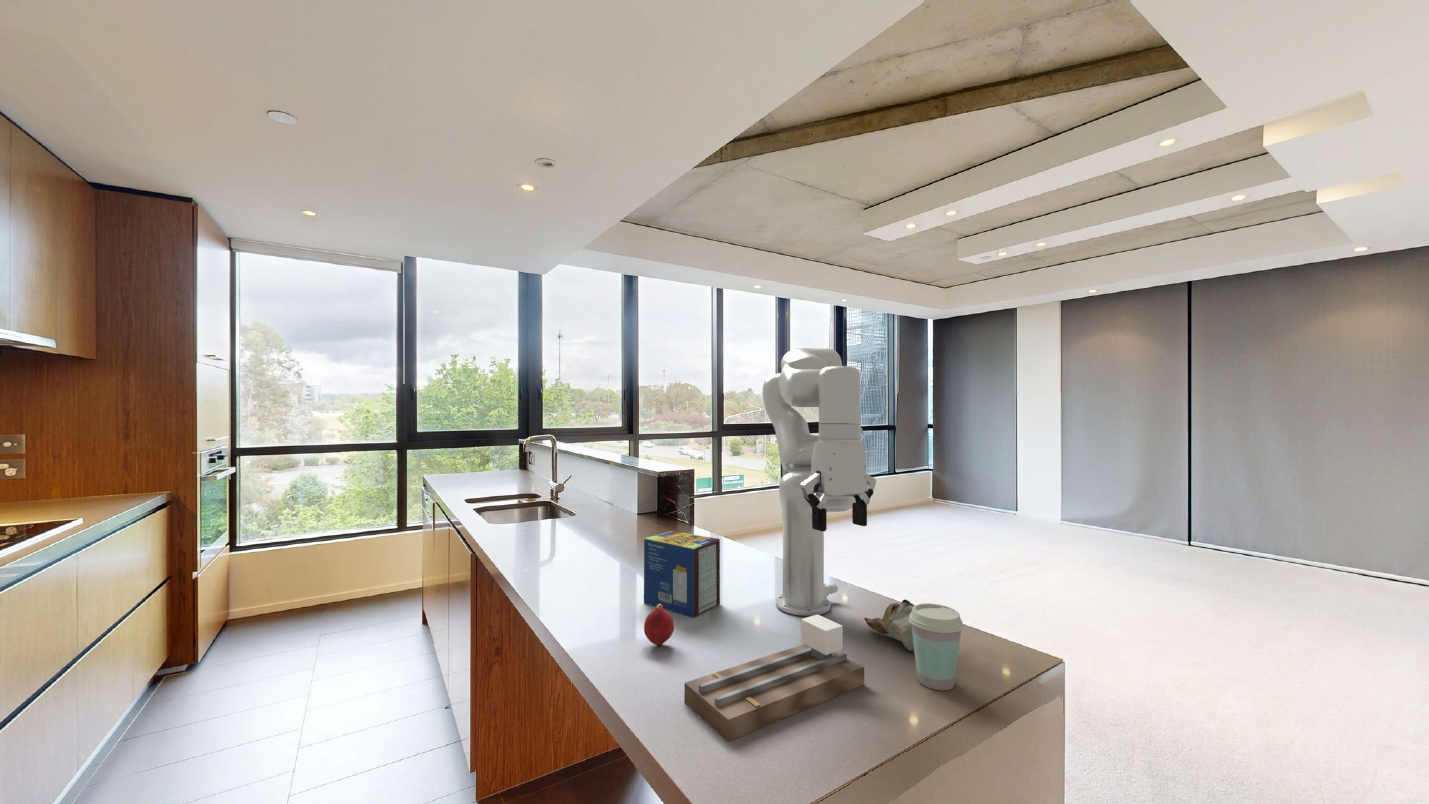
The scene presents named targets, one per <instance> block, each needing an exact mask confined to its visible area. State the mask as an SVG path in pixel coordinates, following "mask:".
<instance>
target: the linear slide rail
mask: <svg viewBox="0 0 1429 804" xmlns="http://www.w3.org/2000/svg"><path fill="white" fill-rule="evenodd" d="M864 685H865V666H863V665H862V664H860V663H858V662H856V661H854V660H852V659H850V658H848V653H846V652H844V651H842V652H837V651H836V652H833V653H832V656H831V657H828V658H825V659H822V660H819V659H817V658H815V657H813V656H812V655H811V647H810V646H808V645H806V644H804V643H802V644H800V645H797V646H794V647H791V648H788V649H784V650H781V651H778V652H775V653H772V654H769V655H765V656H763V657H760V658H757V659H753V660H751V661H747V662H745V663H741V664H738V665H735V666H732V667H728V668H726V669H725V668H724V669H723V670H719V671H717V672H713V673H710V674H708V675H704V676H701V677H698V678H695V679H692V680H689V681H686V682H684V699H683V700H684V703H685V704H686V705H687V706H689V707H690V708H691V710H693V711H694V712H695V713H696V714H697V715H699V717H700V718H702V719H703V720H704V721H705V722H706V723H707V724H708V725H710V727H712V728H713V729H714V730H715V731H716V732H717V733H718V734H720V735H721V736H722V737H723V738H724V740H726V741H728V742H730V741H732V740H735V739H737V738H739V737H742V736H744V735H746V734H749V733H751V732H755V731H756V730H759V729H761V728H764V727H767V726H768V725H771V724H773V723H775V722H778V721H780V720H783V719H785V718H787V717H791V716H792V715H795V714H797V713H799V712H802V711H805V710H807V709H809V708H812V707H814V706H817V705H818V704H821V703H823V702H826V701H829V700H831V699H833V698H835V697H838V696H841V695H843V694H845V693H847V692H850V691H853V690H855V689H857V688H860V687H862V686H864Z"/></svg>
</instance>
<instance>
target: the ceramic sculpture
mask: <svg viewBox="0 0 1429 804" xmlns="http://www.w3.org/2000/svg"><path fill="white" fill-rule="evenodd" d="M915 605H916V604H914V603H912V602H911V601H910V600H908V599H902V600H901V602H892V603H890V604H889V605H888V606H887V607H886V608H885V610H884V614H883V616H882V618H880V617H875V618H868V617H864V618H863V619H864V621H865V622H866V625H868V627H869V628H870V629H871V630H873V631H874V632H875V633H878V634H881V635H888V636H889V637H891V638H893V639H894V640H896V641H898V642H900V643H902V644H903V646H904V648H905V649H906V650H907V651H909V652H910V653H911V652H912V653H915V652H914V643H913V634H912V625H911V622H910V621H909V617H910V613H911V612H912V608H913V607H914V606H915Z"/></svg>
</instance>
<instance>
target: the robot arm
mask: <svg viewBox="0 0 1429 804" xmlns="http://www.w3.org/2000/svg"><path fill="white" fill-rule="evenodd" d="M842 362H843V361H842V358H841V355H840V354H839V353H838V352H837V351H836V350H834V349H833V348H814V347H813V348H811V347H810V348H809V347H808V348H806V347H805V348H804V347H802V348H793V349H791V350H789V351H787V352H786V353H785V354H784V355H783V356H782V358H781V361H780V369H781V371H780V373H775V374H771V375H770V376H768V377H766V379H764V382H763V384H762V399H763V405H764V409H765V411H766V414H767V416H768V418H769V420H770V423H771V424H772V426H773V428H774V432H775V437H776V443H777V449H778V455H779V459H780V463H781V466H782V468H783V469H784V471H785V472H787V473H786V474H784V475H783V476H782V477H781V478H780V480H779V484H778V488H779V489H778V492H779V499H780V506H781V514H782V516H781V517H782V594H781V595H779V596H777V597H776V599H775V606H776V607H777V608H778V610H780V611H782V612H784V613H787V614H791V615H795V616H804V617H810V616H814V615H817V614H818V615H820V616H821V615H823V614H826V613H828V612H829V611H830V610H831V607H832V606H831V601H830V599H828V598H827V597H828V596H829V595H830V594H831V595H832V594H834V593H835V594H836V593H837V592H838V590H839V588H838V585H836V584H835V583H834V584H829V585H826V584H825V583H824V580H825V579H824V578H825V577H824V576H825V575H824V574H825V569H824V568H825V567H824V566H825V565H824V563H825V558H824V557H825V534H824V533H825V532H826V531H827V528H828V527H827V522H828V521H827V513H830V512H831V513H834V512H835V513H836V512H837V513H838V512H847V511H849V510H852V511H851V512H852V514H851V516H852V517H851V519H852V520H851V521H852V524H853V525H857V526H860V527H867V526H868V505H870V503H871V502H870V501H871V497H872V496H873V495H874V490H875V487H876V484H877V479H876V478H875V477H873V476H871V475H870V474H868V473H867V466H866V465H867V464H866V454H865V449H864V444H863V441H862V439H861V438H862V436H861V435H862V434H863V433H864V430H863V428H862V427H861V373H860V371H859V369H858V368H857V367H854V366H849V365H848V366H847V365H843V363H842ZM794 408H818V435H815V434H814V435H813V434H811V433H810V429H809V424H808V422H807V420H806V419H805V417H803V415H802V414H801V413H800V412H799V411H797V410H796V409H794Z"/></svg>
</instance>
